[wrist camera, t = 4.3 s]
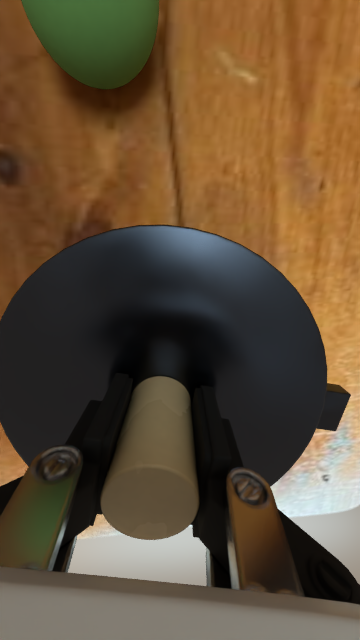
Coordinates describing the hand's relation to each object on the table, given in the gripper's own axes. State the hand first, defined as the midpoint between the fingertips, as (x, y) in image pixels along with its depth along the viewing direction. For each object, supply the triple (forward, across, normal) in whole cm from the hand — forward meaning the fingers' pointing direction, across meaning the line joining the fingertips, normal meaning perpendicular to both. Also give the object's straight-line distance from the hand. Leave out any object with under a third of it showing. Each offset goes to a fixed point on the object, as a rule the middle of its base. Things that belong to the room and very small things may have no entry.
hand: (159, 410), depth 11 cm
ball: (+5, +6, -17) cm, 19 cm away
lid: (+1, 0, 0) cm, 1 cm away
